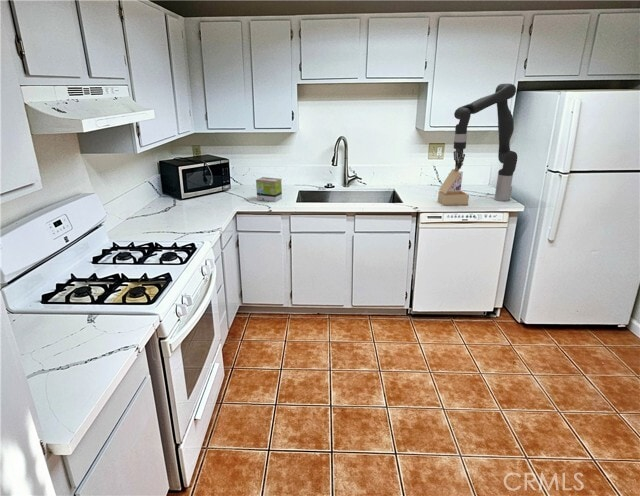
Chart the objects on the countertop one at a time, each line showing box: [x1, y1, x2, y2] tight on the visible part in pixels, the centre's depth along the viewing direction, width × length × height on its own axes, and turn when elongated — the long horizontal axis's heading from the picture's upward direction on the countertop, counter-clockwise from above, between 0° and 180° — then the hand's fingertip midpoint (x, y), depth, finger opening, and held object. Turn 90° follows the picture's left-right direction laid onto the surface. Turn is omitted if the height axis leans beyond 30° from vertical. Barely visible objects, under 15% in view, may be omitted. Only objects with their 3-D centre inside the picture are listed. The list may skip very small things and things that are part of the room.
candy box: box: [448, 170, 464, 191], centre depth 293 cm, size 14×6×16 cm, turn 143°
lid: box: [438, 162, 464, 194], centre depth 269 cm, size 22×12×2 cm
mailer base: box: [437, 190, 470, 207], centre depth 274 cm, size 16×12×7 cm
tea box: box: [255, 176, 283, 203], centre depth 285 cm, size 15×10×15 cm
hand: (458, 168), depth 267 cm, fingers closed on lid, 3 cm apart
